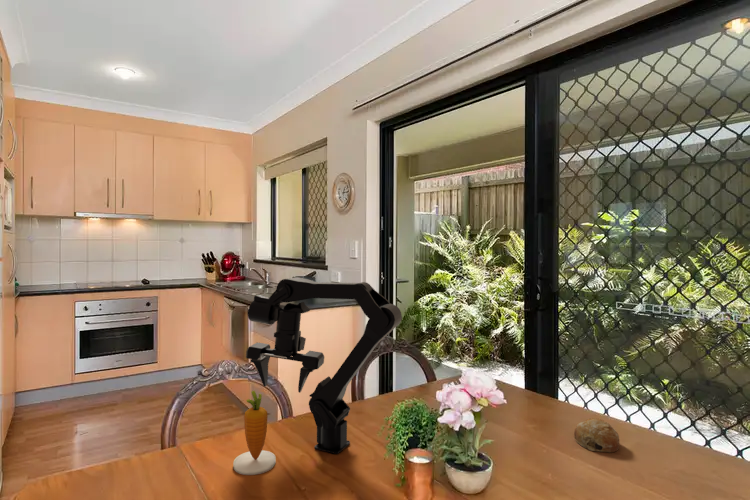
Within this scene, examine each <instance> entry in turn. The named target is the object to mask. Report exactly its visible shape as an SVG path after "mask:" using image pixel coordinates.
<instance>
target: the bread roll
mask: <svg viewBox="0 0 750 500" xmlns="http://www.w3.org/2000/svg"><path fill="white" fill-rule="evenodd" d="M573 437H574V440H575V441H576V443H577V444H578V445H580V446H581V447H582V448H584V449H588V451H593V452H599V453H615V452H617V451H618V450H619V449H620V448H619V447H620V435H619V433H618V431H617V430H616V429H615V428H614V427H612V425H610V423H608V422H607V421H605V420H603V419H602V418H596V417H592V418H589V419H586V420H585V421H581V422H579V423H577V424H576V426H575V428H574V434H573Z"/></svg>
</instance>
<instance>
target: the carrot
mask: <svg viewBox="0 0 750 500" xmlns="http://www.w3.org/2000/svg"><path fill="white" fill-rule="evenodd" d="M251 395H252V398H253V399H249V398H248V399H246V403H248V404H250V405H251V406H252V407H250V408H248V409H247V410H246V411H245V412H244V417H243V418H244V435H245V440H246V441H245V442H246V445H247V449H248V452H249V451H250V453H251V455H252V457H253V459H255V460H256V459H257V458H258V457H259V455H260V453H261V451H262V450H263V449H264V445H265V441H266V437H267V431H268V414H269V413H268V411H267V410H266V409H265V408H264V407H262V406H261V402H262V396H263V395H262V394H261V393H258V396H257V393H256V390H252V391H251Z"/></svg>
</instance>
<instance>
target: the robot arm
mask: <svg viewBox="0 0 750 500" xmlns="http://www.w3.org/2000/svg"><path fill="white" fill-rule="evenodd" d="M308 299H326V300H327V299H328V300H329V299H331V300H336V299H337V300H355V302H356V303H358V305H359V307H360V308H361V310H362V311H363V314H364V315H365V316H366V317H367V318H368V320H367V323H366V325H365V328H364V330H363V331H364V332H363V335H362V336H361V338H360V339H359V340H358V341H357V343H356V344H355V346H354V347H353V349H352V350H351V351H350V352H349V354H348V356H347V357H346V358H345V360H344V361H343V362H342V364H341V365H340V367H339V368H338V370H337V371H336V372H335V374H334V375H333V376H332V377H330V376H327V377H326V378H324V379H322V380H321V381H319V382H318V384H317V385H316V388H315V389H314V391H313V392H312V393H311V394H309V398H310V397H311V398H310V399H309V401H308V406H309V407H308V409H309V410H310V413H311V414H312V416H313V419H314V423H315V426H316V445H314V450H319V451H323V452H327V453H331V454H335V455H338V454H340V453H341V452H342V451H344V449H345V448H347V447H348V446H349V445H350V444H351V441H350V440H348V439H347V438H348V421H347V420H345V418H346V417H348V416H349V413H350V411H351V407H350V406H349V405H348V403H346V401H345V400H344V397H345V395H346V392H347V388H348V386H349V384H350V383H351V381H352V380H353V378H355V376H356V374H357V373H358V372H359V370H360V369H361V368H362V366H363V365H364V363H365V362H366V361H367V359H368V358H369V357H370V356H371V354H372V352H373V351H374V349H376V347H377V346H378V344H379V343H380V342H381V341H382V340H383V339H384V338H386V337H387V336H388V335H389V334H390V333H392V331H394V329H396V328H397V327H398V326H399V325H400V324H401V322H402V319H403V314H402V311H401V309H400V308H399V307H398V306H397V305H396V304H393V303H390V301H389V300H388V299H387V298H386V297H385V296H383V295H382V294H380V293H379V292H378V291H377V290H375V289H374V287H372V285H371V284H370V283H368V282H367V281H366V282H365V281H362V282H328V281H327V282H320V281H315V280H311V279H308V278H302V277H299V276H298V277H291V278H283V279H281V280H280V281H279V282H278V283H277V286H276V288H275V290H274V291H273V293H272V294H271V295H270V297H269V296H268V297H267V296H264V295H260V294H257V295H254V296H253V300H252V302H251V303H250V305H249V307H248V308H247V318H248V320H249V321H250V322H255V323H260V324H265V325H269V326H273V325H274V324H275V323H276V327H275V328H276V329H275V331H274V333H273V338H275V340H274V341H275V342H274V348H271V345H270V344H269V343H264V342H256V343H254V344H252V345H249V347H248V348H247V349H246V351H245V358H246V359H247V360H248V359H249V360H250V363H252V364H254V367H255V368H256V370H257V374H258V375H259V377H260V380H261V383H262V385H263V387H267V385H268V380H269V363H270V360H271V358H276V359H282V360H288V361H293V362H301V365H302V367H301V368H300V369H299V376H298V377H299V378H298V387H297V389H298V393H301V392H302V390H303V389H304V386H305V384H306V382H307V380H308V377H309V375H310V374H311V373H312V372H314V371H315V370H319V368H321V366H323V365H324V363H325V355H324V353H323V352H322V351H321V352H320V351H316V350H308V351H307V352H306V353H298V352H302V351H304V350H305V345H306V340H307V339H306V338H307V337H304V336H301V335H302V332H301V330H300V328H301V320H302V319H301V318H302V317H301V315H302V314H305V313H308V312H310V310H311V309H310V308H309V307H308V306H307V304H306V303H305V302H304V301H303V300H308ZM299 301H301V302H299ZM293 302H298V303H293ZM283 303H286V304H285V305H284V304H283Z"/></svg>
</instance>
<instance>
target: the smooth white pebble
mask: <svg viewBox="0 0 750 500" xmlns="http://www.w3.org/2000/svg"><path fill="white" fill-rule="evenodd" d="M276 459H277V458H276V455H275V454H274V453H273V452H271V451H269V450H263V449H262V451H261V453H260V455H259V457H258V458H257V459H256V460H255V459H253V457H252V455H251V453H250V451H249V450H248V451H246V452H243V453H241V454H239V455H238V456H236V457H235V459H234V460H233V467H232V468H233V471H234V472H235V473H237V474H240V475H244V476H254V475H255V476H256V475H261V474H264V473H266V472H268V471H270V470H272V469H273V468H274V467H275V465H276V462H277V461H276Z"/></svg>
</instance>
